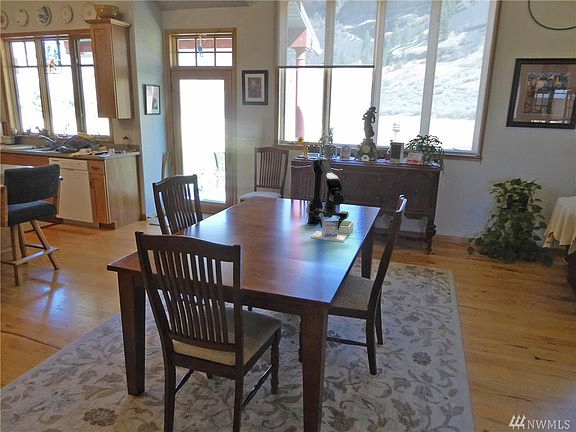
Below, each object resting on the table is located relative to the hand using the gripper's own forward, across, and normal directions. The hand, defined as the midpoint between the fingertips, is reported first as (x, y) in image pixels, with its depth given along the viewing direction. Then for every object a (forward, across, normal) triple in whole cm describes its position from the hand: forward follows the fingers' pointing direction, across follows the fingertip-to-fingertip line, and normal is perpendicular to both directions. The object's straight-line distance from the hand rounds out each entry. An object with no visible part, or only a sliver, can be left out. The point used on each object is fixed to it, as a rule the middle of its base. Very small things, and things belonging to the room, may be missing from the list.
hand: (329, 228), depth 223 cm
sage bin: (+5, +2, +13) cm, 14 cm away
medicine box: (+4, 0, 0) cm, 4 cm away
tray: (+5, 0, 0) cm, 5 cm away
